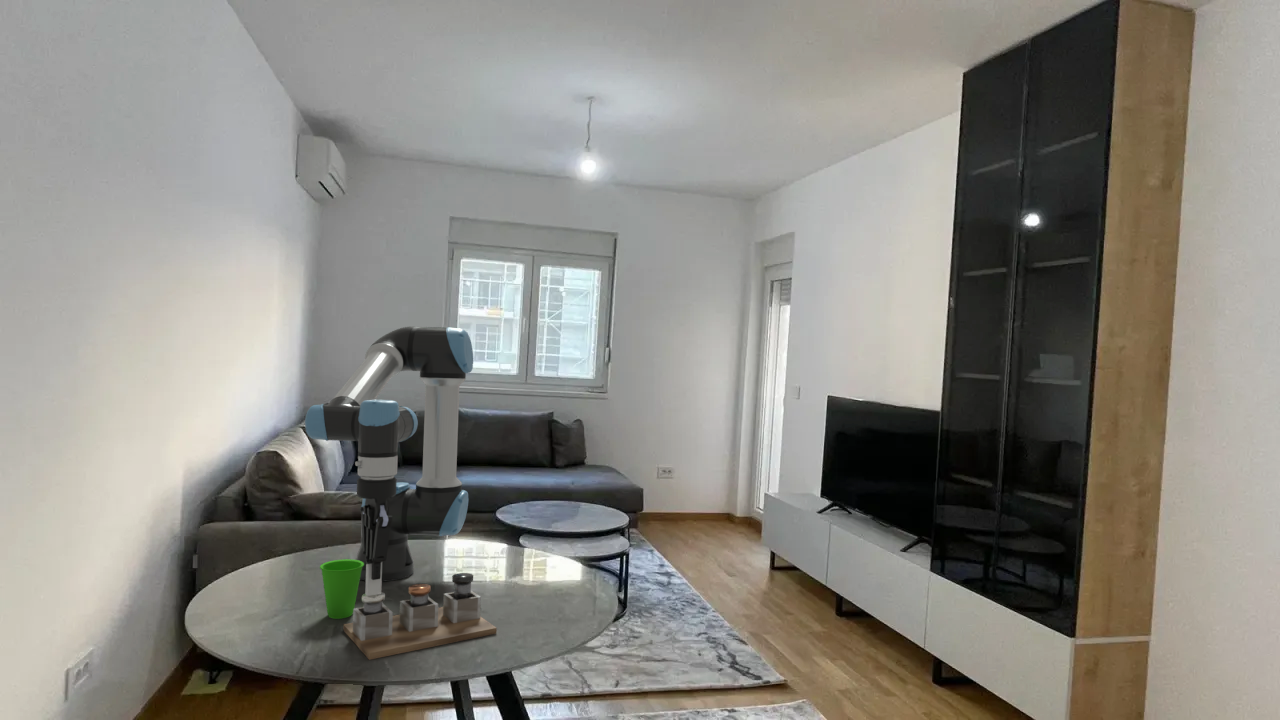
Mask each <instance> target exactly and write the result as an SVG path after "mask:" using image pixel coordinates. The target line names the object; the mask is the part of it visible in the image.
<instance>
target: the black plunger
mask: <svg viewBox="0 0 1280 720" xmlns="http://www.w3.org/2000/svg"><path fill="white" fill-rule="evenodd" d="M451 578H452V579H451V581H452V583H453V592H454V599H456V600H459V599H465V598H471V591H472V582H473V581H474V574H472V573H468V572H460V573H455V574H453V575H452V577H451Z"/></svg>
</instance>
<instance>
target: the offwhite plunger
mask: <svg viewBox="0 0 1280 720" xmlns="http://www.w3.org/2000/svg"><path fill="white" fill-rule="evenodd" d="M385 599H386V594H385V592H382V591H381V594H378V595H372V596H367V595H366V594H365V593H363V594H362V595H361V602H362V603H363V607H364V610H363V615H364V616H366V615H372V614H378V613H382V607H383V604H384V603H383V602H385Z"/></svg>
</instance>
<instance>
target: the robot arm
mask: <svg viewBox="0 0 1280 720" xmlns="http://www.w3.org/2000/svg"><path fill="white" fill-rule="evenodd" d="M469 335H470V334H469V333H468V332H467V331H466V330H465V329H464V328H459V327H457V328H456V327H450V326H449V327H442V326H441V327H439V326H433V327H432V326H404V327H400V328H397V329H394V330H392V331H390V332H388V333H386V334H385V335H383V336H381V337H380V338H378V339H377V340H376V341H374V342H373V343H372V344H371V345H370V347H368V349H366V352H365V356H364V360H363V361H362V363H361V364H360V365H359V366H358V367H357V369H356V370H355V371H354V372H353V374H352V375H351V376H350V377H349V379H348V380H347V381H346V382H345V384H344V385H342V387H341V388H340V389H339V390H338V392H337V393H336V394H335V395H334V396H333V398H332V400H331V401H330V402H328V404H324V403H321V404H314V405H311V406H310V407H309V408H308V409H307V412H306V415H305V418H304V419H305V421H304V427H305V432H306V434H307V436H308V437H309V438H311V439H313V440H319V441H320V440H321V441H327V442H329V441H340V442H343V441H344V442H347V441H348V442H358V450H357V452H358V453H357V459H358V460H357V461H355V462H354V463H355V464H354V465H355V466H356V467H357V476H359V477H358V479H357V480H356V496H357V497H358V498H360V499H362V500H361V501H362V502H361V503H362V504H361V506H360V509H359V511H360V514H361V515H360V516H361V520H360V521H361V523H360V524H361V525H360V528H361V529H360V531H361V532H360V537H361V538H360V546H359V549H358V552H357V554H356V558H355V560H359V561H362V562H363V563H364V566H363V567H362V570H361V576H360V580H361V581H363V582H364V581H365V590H364V591H365V593H364V594H366V595H367V596H372V595H378V594H381V592H382V583H383V582H390V581H396V580H401V579H405V578H407V577H410V576H412V575H413V574H414V572H415V568H414V567H415V563H414V562H415V561H414V558H413V556H412V552H411V549H410V546H409V535H411V536H412V535H415V536H416V535H421V536H422V535H423V536H439V537H443V536H455V535H457V534H458V533H459V532H461V529H462V528H463V525H464V523H465V521H466V518H467V512H468V506H469V493H468V491H467V490H464V489H462V487H463V482H462V481H461V480H460V479H459V477H457V467H458V465H457V461H458V459H457V458H458V437H459V436H458V434H459V407H460V406H459V404H460V386H461V384H462V383H464V382H465V381H466V379H467V378H466V377H467V376H466V375H467V374H470V373H472V371H473V369H474V350H473V344H472V340H471V337H470V336H469ZM405 371H407V372H408V371H411V372H412V371H413V372H419V379H420V380H421V382H423V383H424V385H425V391H424V392H425V393H424V395H425V396H424V419H423V420H424V423H423V449H422V450H423V453H422V454H423V455H422V475H421V478H420V479H419V480H418V481H417V482H416V483H415V488H411V486H410V483H409V482H402V481H400V482H398V481H397V477H395V476H396V475H397V474H398V461H399V460H398V457H399V456H398V449H399V448H398V443H401V442H405V441H406V440H408V439H409V438H411V437H412V436H413V435H414V434H415V433H416V432H417V429H418V426H419V422H418V417H417V415H416V413H415V411H413V410H412V409H411V408H410V407H407V406H402V405H401V406H400V405H399V402H397V401H396V400H392V399H377V397H378V396H379V395H380V393H381V392H382V391H383V389H384V388H385V386H386V385H387V384H388V382H389V381H390V379H391V378H393V377H396V376H397V375H399V374H400V373H401V372H405Z"/></svg>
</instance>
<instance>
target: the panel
mask: <svg viewBox="0 0 1280 720" xmlns="http://www.w3.org/2000/svg"><path fill="white" fill-rule="evenodd" d="M442 601H443V605H442V606H441V607H439V603H438V602H436V601H434V600H433V599H432V598H431V597H430V596H428V605H425V606H419V607H413V608H412V607H411V606H410V598H409V599H404V600H399V614H396V615H394V614H393V613H394V611H392V610H391V609H390V608H389V607H388V606H386V604H384V603H383V607H382V613H378V614H372V615H366V616H364V615H363V610H364V606H362V607H361V606H360V607H356V608H355V607H354V609H353V613H352V622H349V623H343V624H342V625H343V627H342V629H343V632H344V633H345V634H346V635H347V636H348V637H349V639H351V641H352V642H353V643H354V644H355V646H356V647H358V649H359V650H360V651H361V652H362V653H363V655H364V656H365V657H366V658H367V659H368V660H370V661H371V660H375V659H379V658H384V657H389V656H394V655H399V654H404V653H408V652H414V651H417V650H419V651H420V650H423V649H428V648H432V647H437V646H443V645H448V644H453V643H457V642H462V641H466V640H472V639H476V638H482V637H486V636H490V635H491V636H492V635H496V634H497V632H498V631H497V630H498V629H497V627H496V626H495V625H493V624H492V623H491V622H489V621H488V620H486V619H485V618H483V617H482V616H481V614H482V613H481V611H482V609H481V606H482V596H481V595H479V594H477V593H476V592H474V591H473V590H471V598H465V599H459V600H456V599H454V591H453V592H446V593H443V600H442Z"/></svg>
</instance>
